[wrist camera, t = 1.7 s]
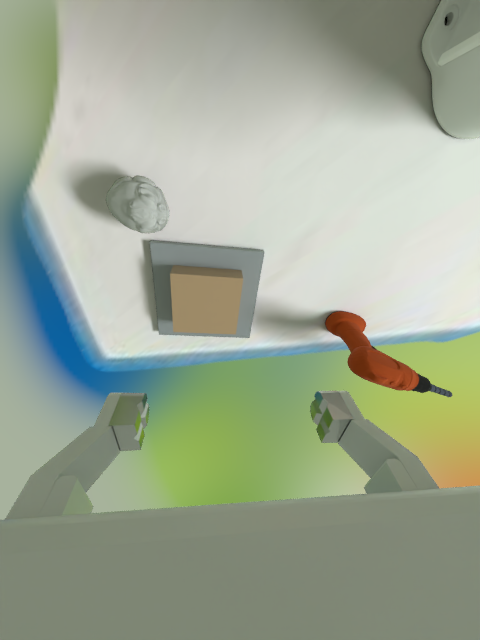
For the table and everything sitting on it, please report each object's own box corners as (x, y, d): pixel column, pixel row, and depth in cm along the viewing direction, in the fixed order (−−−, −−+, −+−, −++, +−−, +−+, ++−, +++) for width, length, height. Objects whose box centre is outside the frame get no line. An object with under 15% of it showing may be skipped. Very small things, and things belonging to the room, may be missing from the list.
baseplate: (151, 240, 33) (144, 249, 30) (263, 250, 35) (267, 259, 32) (160, 330, 42) (155, 345, 39) (248, 334, 44) (251, 348, 41)
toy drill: (398, 355, 49) (451, 420, 36) (318, 325, 46) (345, 385, 33) (416, 337, 46) (479, 400, 34) (333, 304, 43) (367, 360, 30)
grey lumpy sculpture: (174, 230, 33) (165, 246, 27) (120, 219, 31) (98, 234, 26) (177, 180, 29) (167, 186, 24) (116, 166, 28) (91, 169, 22)
